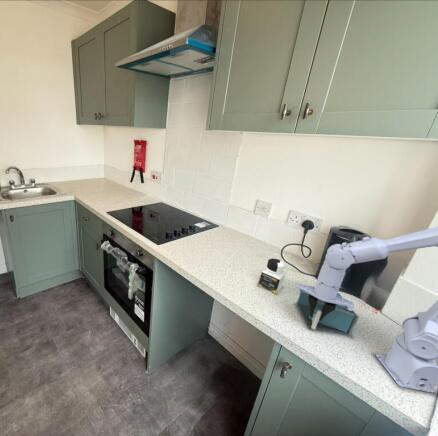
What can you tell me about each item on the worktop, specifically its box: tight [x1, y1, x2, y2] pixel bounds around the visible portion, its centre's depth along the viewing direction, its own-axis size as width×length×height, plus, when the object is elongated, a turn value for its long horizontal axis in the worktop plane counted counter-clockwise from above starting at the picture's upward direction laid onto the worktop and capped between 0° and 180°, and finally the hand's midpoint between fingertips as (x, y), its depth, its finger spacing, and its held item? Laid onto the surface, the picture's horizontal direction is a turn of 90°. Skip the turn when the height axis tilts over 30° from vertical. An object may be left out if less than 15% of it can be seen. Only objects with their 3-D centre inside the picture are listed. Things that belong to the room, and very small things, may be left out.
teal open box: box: [295, 291, 360, 337], centre depth 83 cm, size 12×12×8 cm
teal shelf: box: [309, 302, 355, 332], centre depth 78 cm, size 5×10×7 cm, turn 59°
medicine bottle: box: [258, 258, 287, 294], centre depth 99 cm, size 7×7×12 cm
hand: (315, 316), depth 79 cm, fingers closed
